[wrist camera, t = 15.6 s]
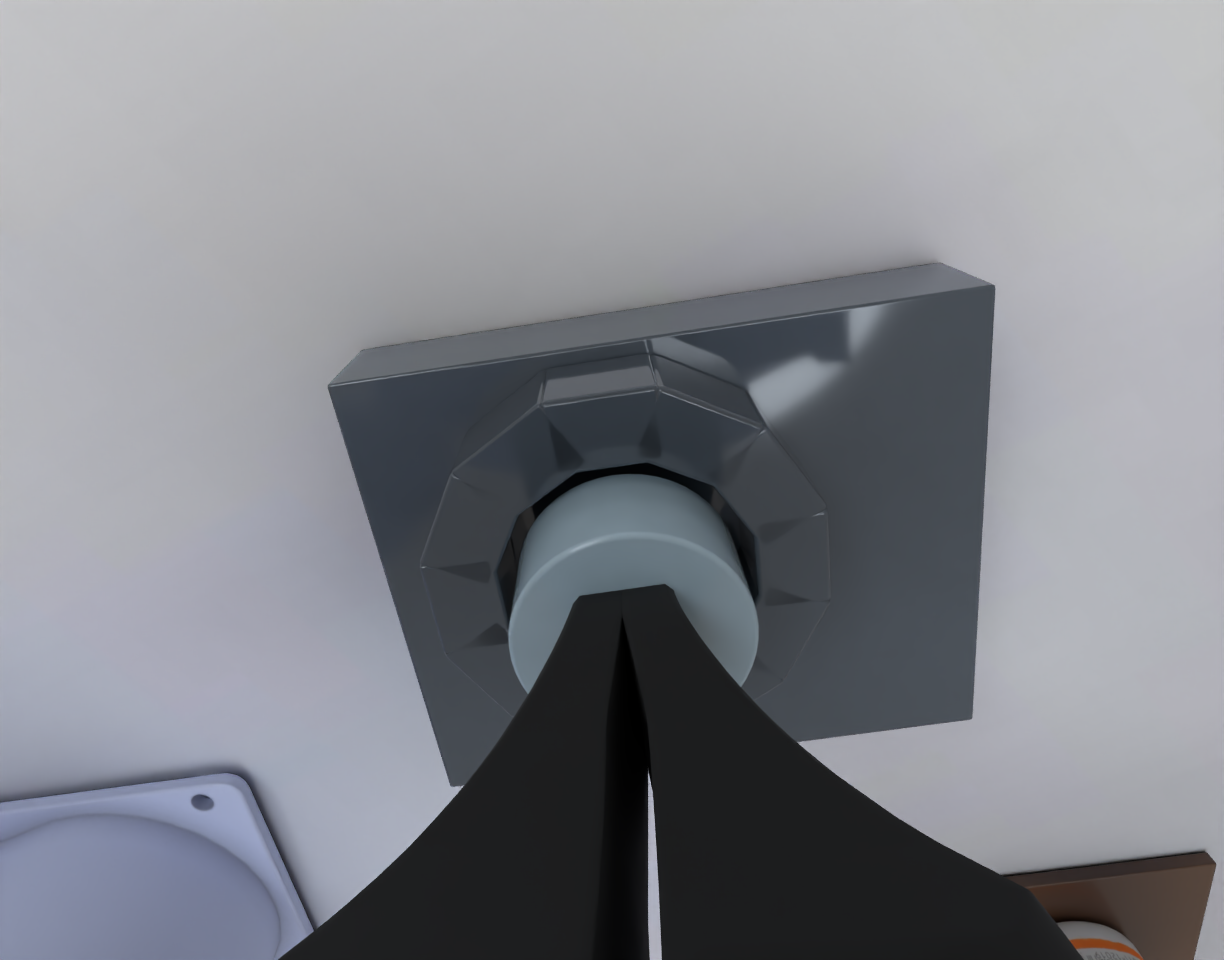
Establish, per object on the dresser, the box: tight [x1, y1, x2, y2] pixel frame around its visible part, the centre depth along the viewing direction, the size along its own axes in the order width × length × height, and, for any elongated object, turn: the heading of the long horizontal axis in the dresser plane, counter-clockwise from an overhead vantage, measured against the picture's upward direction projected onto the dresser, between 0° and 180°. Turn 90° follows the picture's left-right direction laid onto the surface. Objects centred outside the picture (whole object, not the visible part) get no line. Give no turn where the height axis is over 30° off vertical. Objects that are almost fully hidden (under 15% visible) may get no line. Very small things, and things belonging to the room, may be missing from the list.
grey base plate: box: [328, 263, 995, 787], centre depth 15 cm, size 11×9×4 cm
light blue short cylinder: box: [508, 474, 759, 694], centre depth 12 cm, size 4×4×2 cm
